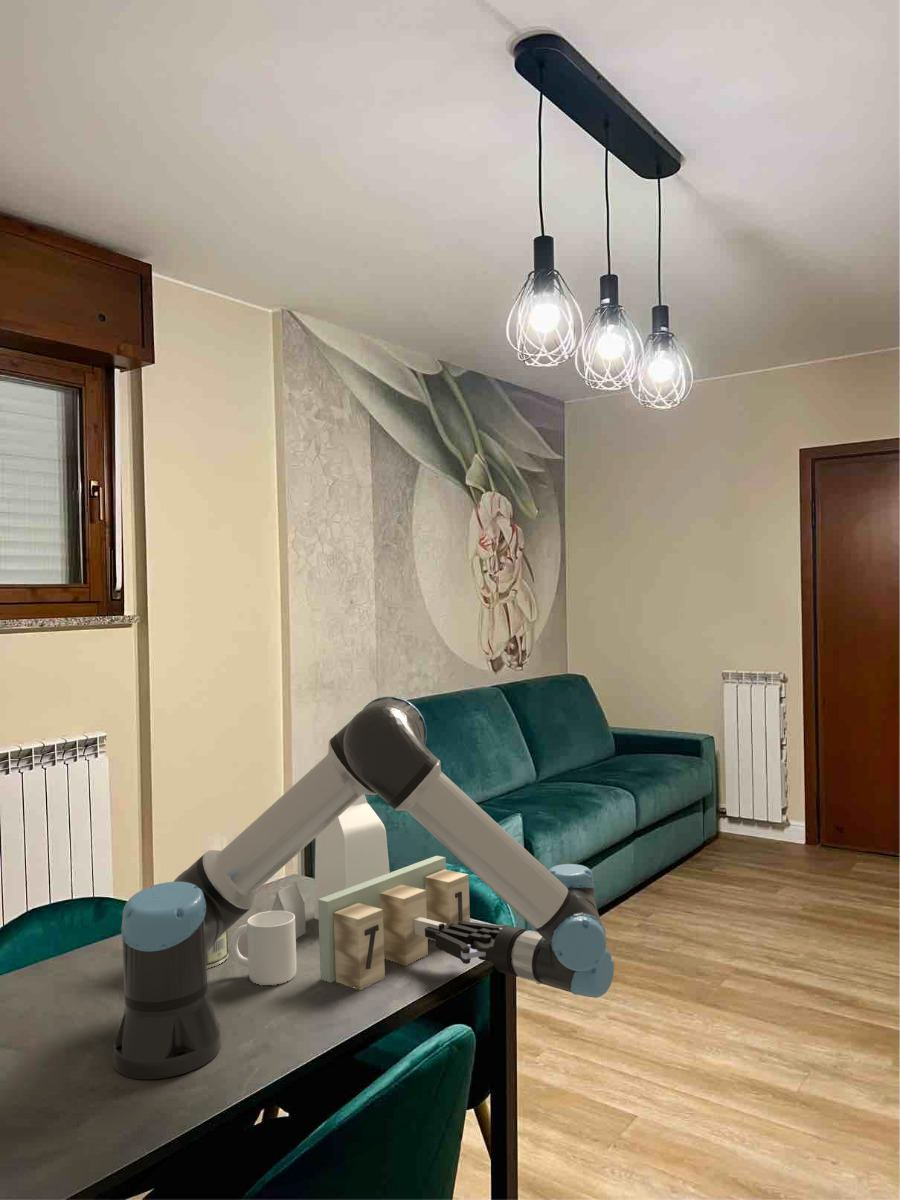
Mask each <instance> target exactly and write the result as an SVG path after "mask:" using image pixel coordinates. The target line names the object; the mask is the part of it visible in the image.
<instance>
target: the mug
mask: <svg viewBox="0 0 900 1200" xmlns="http://www.w3.org/2000/svg"><path fill="white" fill-rule="evenodd" d="M244 934H247V954H248V955H247V956H248V957H246V956H243V955H242V954H241V952H240V950H239V939H240V937H241V936H242V935H244ZM296 940H297V939H296V934H295V915H294V914H293V913H290V912H287V911H271V910H268V911H263V912H258V913H255V914H254V915H252V916H250V917H249V918H248V919H247V920H246V924H243V925H239V927H237V928H236V929H235V930H234V931H233V933H232V935H231V938H230V942H229V943H230V944H229V945H230V946H229V947H230V952H231V955H232V957H233V959H234V960H235V961H236V962H237V963H238V964H239V965H241V966H243V967H246V968H248V976H249V980H250V981H251V982H252V983H253V984H255V983H256V984H255V985H257V984H259V985H258V986H263V985H272V986H278V985H277V984H279V985H282V984H284V983H287V981H288V982H289V981H291V980H292V979H293V978H294V977H295V976H296V974H297V947H296V946H297V941H296Z"/></svg>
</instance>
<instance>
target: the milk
mask: <svg viewBox="0 0 900 1200" xmlns="http://www.w3.org/2000/svg"><path fill="white" fill-rule="evenodd" d="M314 853H315V854H314V855H315V856H314V861H315V862H314V907H313V911H314V915H313V918H314V919H315V920H318V921H319V912H318V899H320V898H323V897H325V896H328V895H331V894H334V893H336V892H339V891H342V890H344V889H347V888H350V887H353V886H355V885H358V884H361V883H363V882H366V881H369V880H372V879H374V878H377V877H380V876H382V875H385V874H388V873H391V871H390V861H389V860H390V859H389V849H388V839H387V830H386V827H385V825H384V823H383V821H382V820H381V818H380V817H379V816H378V814H377V813H376V811H375V810H374V809H373V808H372V806H371V805H370V804H369V802H368V799H367V797H366V794H364V795H362V796H361V797H360V798H359V799H357V800H356V801H355V802H354V803H353V804H352V805H351V806H350V807H349V808H347V809H346V810H345V811H344V812H343V813H342V814H341V815H340V816H339V817H337V818H336V819H335V820H334V821H333V822H332V823H331V824H330V825H329V826H328V827H326V828H325V829H324V830H323V831H322V832H321V833H320V834H319V835H318V836H316V837H315V852H314Z"/></svg>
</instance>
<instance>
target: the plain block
mask: <svg viewBox="0 0 900 1200" xmlns="http://www.w3.org/2000/svg"><path fill="white" fill-rule="evenodd" d="M380 909H383V932H384V960H385V959H386V961H389V960H390V961H389V962H392V961H393V963H395V962H396V963H395V964H398V963H400V964H399V965H401V964H403V965H402V966H405V965H407V966H409V965H411V964H413V963H415V962H417V961H419V960H421V959H423V958H425V957H427V956H429V950H428V949H429V946H428V941H429V939H428V938H427V937H423V936H419V935H416V934H415V928H414V919H416V918H418V917H422V918H426V919H427V907H426V890H423V889H419V888H414V887H410V886H406V885H400V886H397V887H394V888H392V889H389V890H387V891H384V892H382V893H380ZM426 955H427V956H426ZM422 957H423V958H422ZM420 958H421V959H420ZM418 959H419V960H418ZM416 960H417V961H416ZM414 961H415V962H414ZM412 962H413V963H412ZM410 963H411V964H410ZM408 964H409V965H408Z"/></svg>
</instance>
